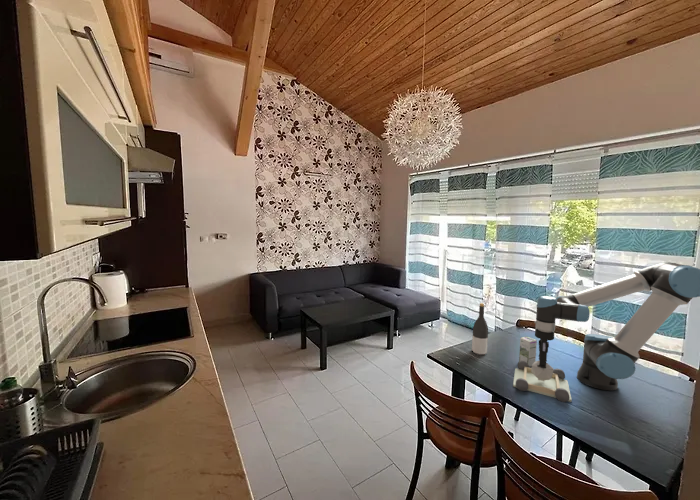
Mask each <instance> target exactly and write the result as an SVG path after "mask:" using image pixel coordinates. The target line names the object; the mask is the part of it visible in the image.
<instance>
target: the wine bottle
mask: <svg viewBox="0 0 700 500" xmlns="http://www.w3.org/2000/svg"><path fill="white" fill-rule="evenodd" d="M478 310H479V312H478V316H477V319H476V320H475V322H474V324H473V327H472V342H471V343H472V345H471V352H472V351H473V352H474V353H475V354H474V353H473V352H472V353H473V354H474V355H477V354H478V356H486V355H487V354H488V340H489V327H488V323H487V321H486V319H485V315H484V313H485V303H483V302H480V303H479V309H478ZM485 354H486V355H485Z"/></svg>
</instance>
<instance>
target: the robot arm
mask: <svg viewBox="0 0 700 500" xmlns="http://www.w3.org/2000/svg"><path fill="white" fill-rule="evenodd" d="M642 291H645V292H651V293H650V295H649V296H648V297H647V299H645V301H644V302H643V303H642V304H641V306H640V307H639V308H638V309H637V310H636V311H635V312H634V314H633V315H632V316H631V318H630V319H629V320H627V322H626V323H625V325H624V326H623V327H622V328H621V329H620V331H619V332H618V333H617V334H616V335H615V336H614V337H612V336H608V335H604V334H597V333H587V334H585V336H584V339H583V341H584V342H583V356H582V363H581V364H580V367H579V368H578V370H577V372H576V373H577V374H576V378H577V380H579V382H581V383H583V384H585V385H586V386H590V387H592V388H595V389H597V390H602V391H616V390H618V387H619V384H618V383H619V382H618V380H625V379H629V378H631V377H632V376H634V374H635V372H636V364H635V363H636V362H637V361H638V360H639V359H640V354H639V351H640V350H641V349H642V348H643V346H644V345H645V344H646V343H647V342H648V341H649V340H650V339H651V338H652V336H653V335H655V333H656V332H657V331H658V329H659V328H661V326H662V325H664V323H665V322H666V321H667V320H668V318H670V316H671V315H672V314H673V313H674V312H675V310H677V308H678V307H680V306H683V305H688V304H689V302H690V301H691V300H692V299H693V298H699V297H700V268H698V267H695V266H693V265H689V264H688V265H687V264H686V265H685V264H681V263H675V262H661V263H657V264H654V265H651V266H646V267H644V268H642V269H638V270H636V271H634V272H633V274H631V275H627V276H625V277H622V278H619V279H616V280H612V281H610V282H607V283H603V284H599V285H597V286H594V287H591V288H588V289H586V290H585V289H584V290H582V291H579V292H576V293H573V294H569V295H566V296H565V295H558V296H557V297H553V296H549V295H548V296H547V295H540V296H539V297H538V298H537V301H536V302H537V303H536V313H535V314H536V317H535V320H534V322H533V323H534V324H535V330H534V337H536V338H537V339H538V361H540V362H539V365H537V366H538V367H541V368H546V363H547V362H548V360H547V357H548V353H549V348H550V342H549V341H553V340H554V339H555V330H556V320H564V321H571V322H578V323H579V322H581V323H586V322H588V321H589V319H590V317H591V316H590V307H591V306H596V305H599V304H602V303H606V302H608V301H612V300H616V299H619V298H622V297H626V296H629V295H633V294H635V293H638V292H642ZM538 380H541V381H545V380H544V379H538Z"/></svg>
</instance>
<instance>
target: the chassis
mask: <svg viewBox="0 0 700 500" xmlns="http://www.w3.org/2000/svg"><path fill="white" fill-rule="evenodd" d="M514 369H515V370H514V375H513V376H514V377H513V383H512V387H513V388H516V389H517V390H519V391H520V392H526V391H527V392H528V391H529V392H532V393H536V394H539V395H544V396H546V397H551V398H553V399H557V400H558V401H559V402H561V403H565V402H570V403H572V401H573V400H572V396H571V395H572V394H571V391H570V386H569V381H568V380H567V379H566V374H565V372H564V370H562V369H561V368H553V369H554V370H553V375H552V377H551V379H550V380H545V381H541V380H538V378H537V377H536V376H535V375H534V374H533V373H532V372H531V369H532V367H530V366H529V364H528V363H527V362H525V361H520V362H519V361H518V363H517V367H515V368H514Z"/></svg>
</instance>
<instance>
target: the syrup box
mask: <svg viewBox="0 0 700 500" xmlns="http://www.w3.org/2000/svg"><path fill="white" fill-rule="evenodd" d="M537 341H538V340H537V339H534V338H533V337H529V336H523V337H520V340H519V355H518V356H519V357H518V358H519V359H518V363H519V362H520V361H525V362H527V363H528V364H529V367H532V365H533V363H534V362H535V361H536V360H537V358H536V356H537V346H538V344H537V343H538V342H537Z"/></svg>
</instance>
